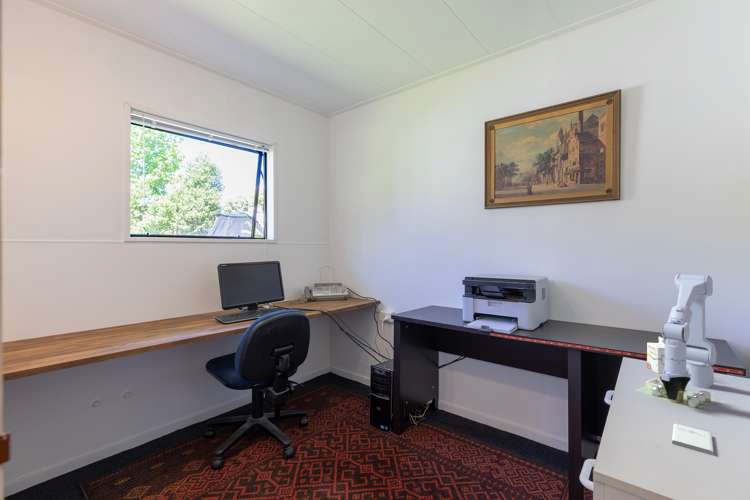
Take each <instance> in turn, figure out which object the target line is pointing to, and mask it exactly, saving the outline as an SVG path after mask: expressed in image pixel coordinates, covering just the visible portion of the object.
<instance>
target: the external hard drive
mask: <svg viewBox="0 0 750 500" xmlns="http://www.w3.org/2000/svg"><path fill="white" fill-rule="evenodd" d="M672 427H673V428H672V436H671V437H672V438H671V444H672V445H674V446H675V445H676V446H679V447H681V448H686V449H689V450H692V451H697V452H700V453H704V454H706V455H710V456H714V447H713V446H714V445H713V444H714V443H713V435H712V433H711V432H709V431H707V430H701V429H698V428H693V427H690V426H686V425H683V424H679V423H673V426H672Z"/></svg>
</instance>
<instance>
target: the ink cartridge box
mask: <svg viewBox="0 0 750 500" xmlns="http://www.w3.org/2000/svg"><path fill="white" fill-rule="evenodd" d="M646 348H647V349H646V369H647V370H648V369H649V370H651V371H653V372H655V373H657V374H660V375H661V374H662V373H663V371H664V369H665V344H664V343H663V337H661V336H658V342H647V343H646Z"/></svg>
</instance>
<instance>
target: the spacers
mask: <svg viewBox="0 0 750 500" xmlns="http://www.w3.org/2000/svg"><path fill="white" fill-rule="evenodd" d="M652 395H653V396H652V397H654V396H656V397H655V398H657V397H663V395H667V393H666V390H665V387H664V385H663V384H658V386H655V385H653V386H652ZM711 397H712V393H711V392H709V391H706V390H698V393H696V392H694V393H693V396H687V406H688V407H690V408H689V409H691V408H695V409H697V410H699V409H700V408H699V405H700V406H703V407H706V405H705V403H710V404H712V403H711ZM688 407H687V408H688ZM695 409H694V410H695Z"/></svg>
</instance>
